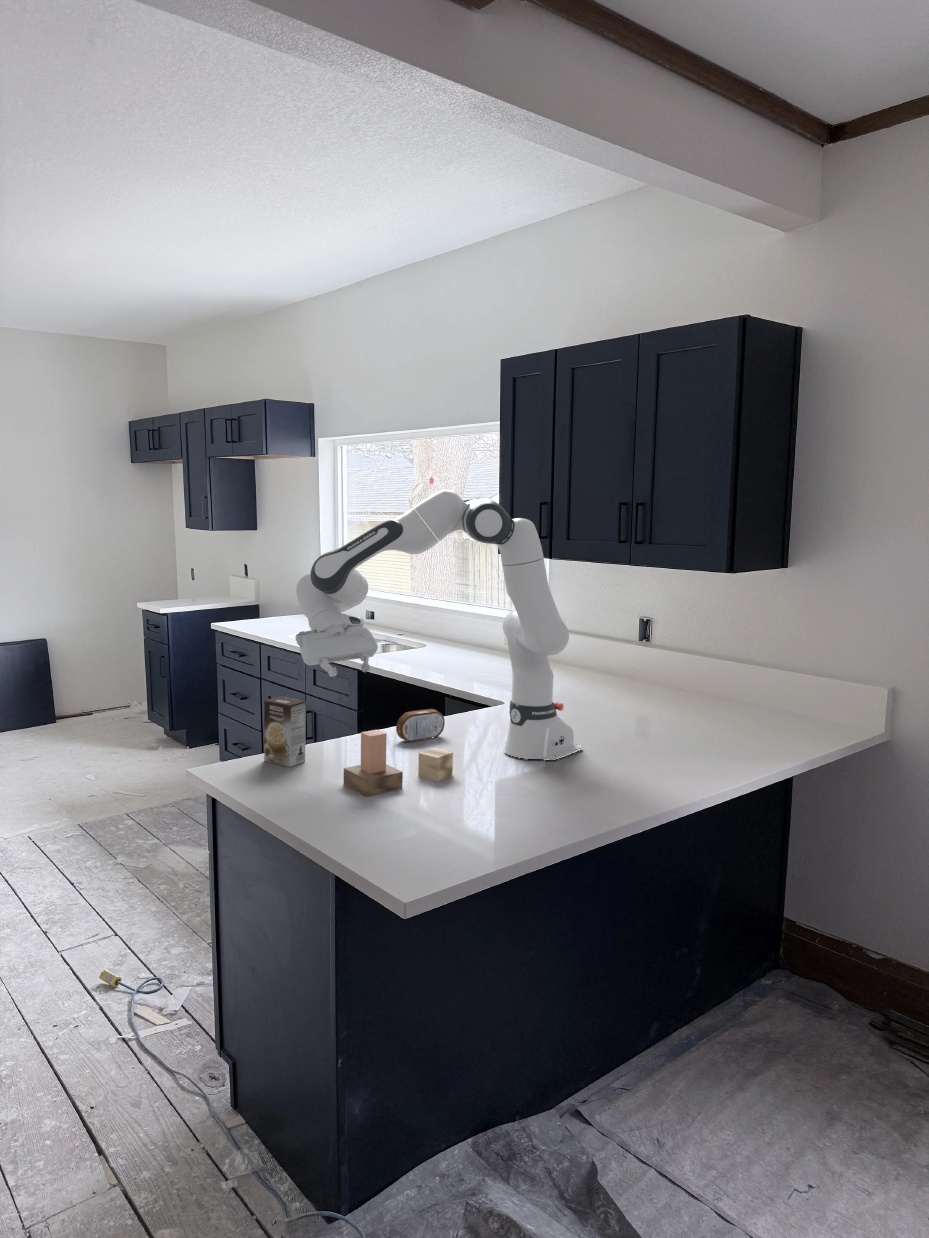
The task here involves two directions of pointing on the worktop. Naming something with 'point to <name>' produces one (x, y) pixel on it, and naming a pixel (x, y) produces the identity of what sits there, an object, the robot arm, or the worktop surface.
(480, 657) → the worktop surface
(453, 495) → the robot arm
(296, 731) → the coffee box
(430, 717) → the tin
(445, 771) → the oak cube
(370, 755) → the terracotta block
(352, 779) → the walnut block
